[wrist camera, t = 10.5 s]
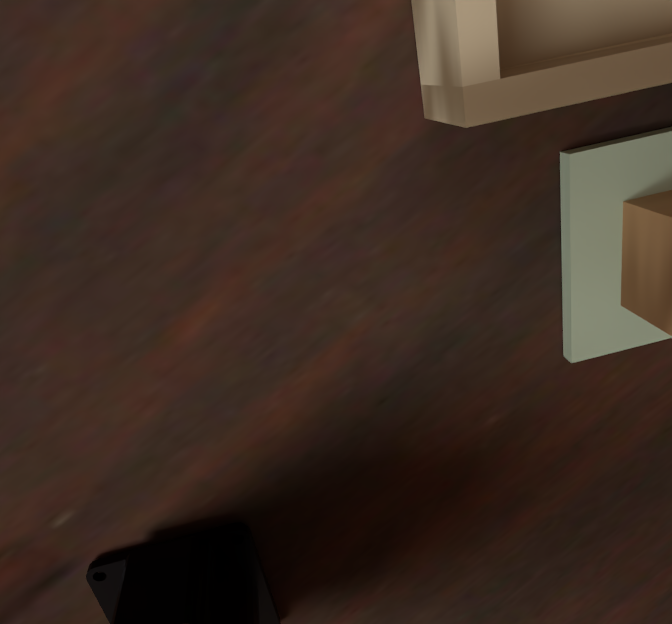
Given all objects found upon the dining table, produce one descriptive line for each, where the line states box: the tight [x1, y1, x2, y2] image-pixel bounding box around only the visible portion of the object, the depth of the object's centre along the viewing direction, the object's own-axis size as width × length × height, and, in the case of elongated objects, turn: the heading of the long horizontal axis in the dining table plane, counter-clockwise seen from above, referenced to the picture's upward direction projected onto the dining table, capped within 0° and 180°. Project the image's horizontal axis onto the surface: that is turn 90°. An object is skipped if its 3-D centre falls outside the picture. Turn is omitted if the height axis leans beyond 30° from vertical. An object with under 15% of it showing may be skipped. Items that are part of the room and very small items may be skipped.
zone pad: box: [560, 127, 672, 363], centre depth 20 cm, size 8×8×1 cm
